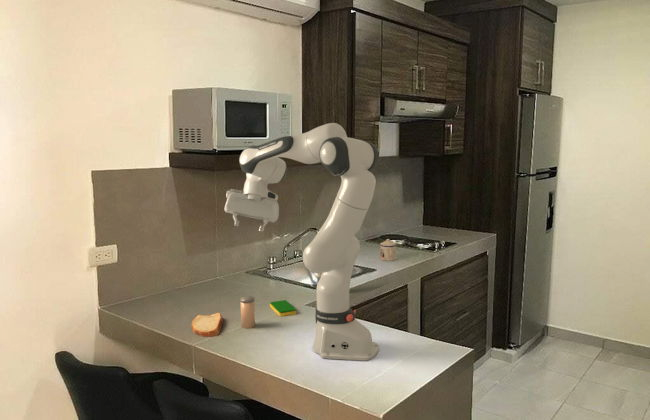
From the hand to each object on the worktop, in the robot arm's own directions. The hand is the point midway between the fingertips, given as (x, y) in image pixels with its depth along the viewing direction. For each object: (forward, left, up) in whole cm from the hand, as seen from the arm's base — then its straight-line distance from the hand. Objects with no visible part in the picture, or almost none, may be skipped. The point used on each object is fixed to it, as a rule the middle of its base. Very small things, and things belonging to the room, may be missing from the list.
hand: (248, 228), depth 205 cm
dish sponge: (-3, -21, -39) cm, 44 cm away
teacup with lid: (-24, -119, -38) cm, 128 cm away
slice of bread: (+16, +5, -39) cm, 42 cm away
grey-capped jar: (+2, 0, -38) cm, 38 cm away
